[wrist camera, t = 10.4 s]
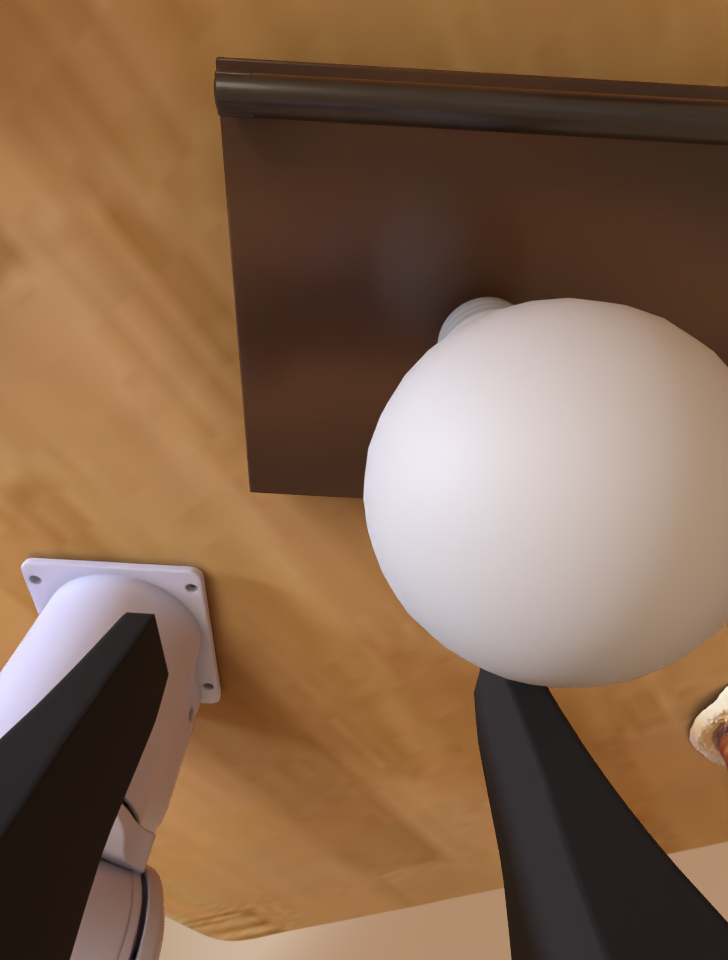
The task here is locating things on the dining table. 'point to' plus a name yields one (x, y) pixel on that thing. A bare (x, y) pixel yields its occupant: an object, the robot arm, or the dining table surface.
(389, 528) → the lightbulb
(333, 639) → the dining table surface
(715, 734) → the dessert
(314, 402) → the shelf
